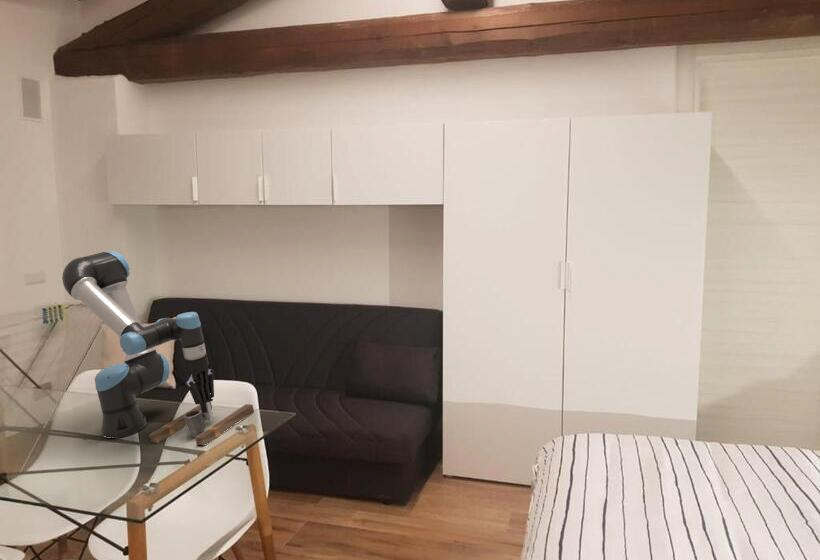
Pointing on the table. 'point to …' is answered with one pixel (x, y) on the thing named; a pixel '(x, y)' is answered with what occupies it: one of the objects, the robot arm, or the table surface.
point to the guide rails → (206, 435)
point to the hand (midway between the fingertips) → (209, 419)
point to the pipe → (195, 422)
